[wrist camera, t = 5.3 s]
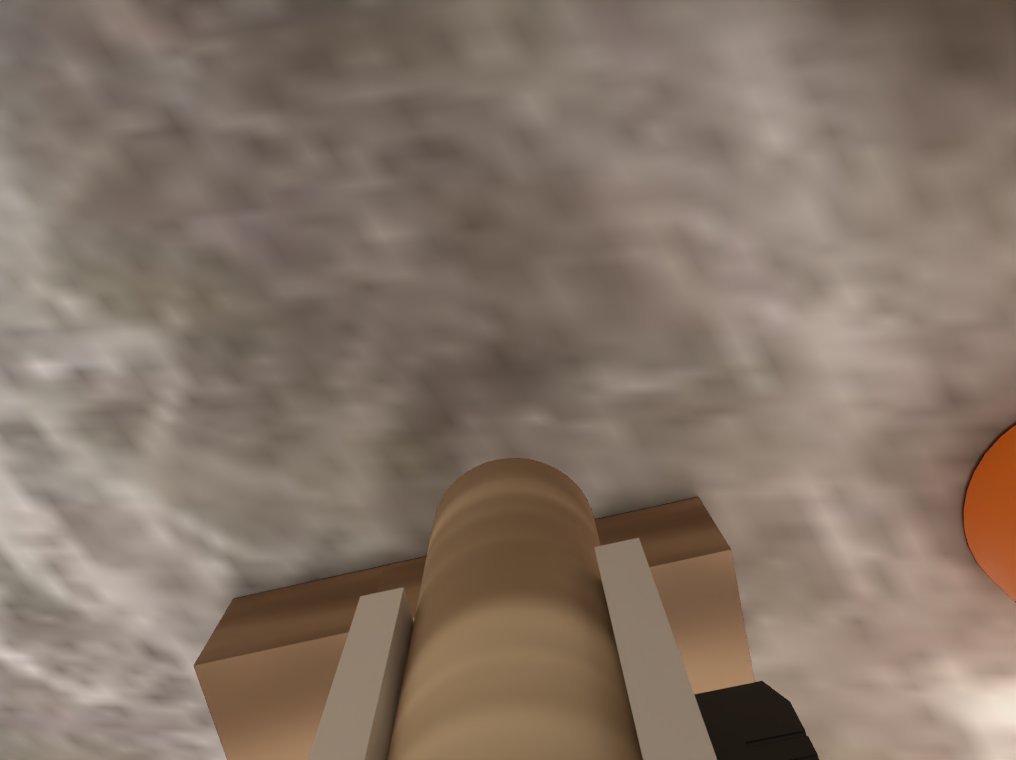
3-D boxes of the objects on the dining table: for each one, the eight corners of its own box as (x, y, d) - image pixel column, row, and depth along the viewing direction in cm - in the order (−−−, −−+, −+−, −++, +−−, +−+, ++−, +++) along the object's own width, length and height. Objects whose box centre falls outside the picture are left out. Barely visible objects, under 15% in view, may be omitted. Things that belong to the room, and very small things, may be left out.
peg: (415, 476, 18) (254, 1057, 6) (578, 443, 18) (712, 976, 6) (453, 622, 19) (371, 1360, 7) (609, 591, 19) (777, 1299, 7)
